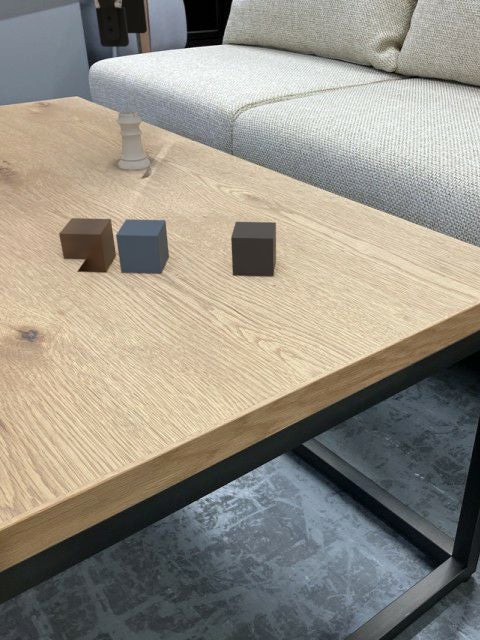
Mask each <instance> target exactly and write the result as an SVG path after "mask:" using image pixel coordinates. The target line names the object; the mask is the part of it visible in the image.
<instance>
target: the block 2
mask: <svg viewBox="0 0 480 640" xmlns="http://www.w3.org/2000/svg"><path fill="white" fill-rule="evenodd" d="M115 237H116V245H117V251H118V258H119V266H120V272H121V273H122V274H153V275H154V274H155V275H156V274H157V275H161V274H163V271H164V269H165V266H166V265H167V262H168V260H169V258H170V252H169V242H168V232H167V222H166V220H165V219H134V218H133V219H131V218H130V219H128V218H126V219H125V220H124V222H123V223H122V225H121V226H120V228H119V230H118V231H117V232H116V234H115Z"/></svg>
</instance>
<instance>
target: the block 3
mask: <svg viewBox="0 0 480 640" xmlns="http://www.w3.org/2000/svg"><path fill="white" fill-rule="evenodd" d="M234 223H235V224H234V226H233V229H232V233H231V237H230V243H231V265H232V266H231V267H232V276H233V277H236V276H237V277H238V276H239V277H274V276H275V269H276V262H277V222H272V221H271V222H269V221H268V222H267V221H235V222H234Z"/></svg>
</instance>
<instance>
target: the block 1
mask: <svg viewBox="0 0 480 640" xmlns="http://www.w3.org/2000/svg"><path fill="white" fill-rule="evenodd" d="M58 235H59V236H58V237H59V241H60V246H61V251H62V257H63V259H64V260H83V262H82V263H81V265H80V266H79V268H78V269H77V272H76V273H107V272H108V270H109V268H110V267H111V265H112V264H113V262H114V260H115V258H116V257H117V252H116V251H117V250H116V245H115V239H114V232H113V224H112V219H111V218H87V217H86V218H85V217H84V218H83V217H81V218H80V217H73V218H72V217H71V218H70V219H69V221H68V222H67V223H66V224H65V225H64V227H63V228H62V229H61V230H60V231H59V233H58Z"/></svg>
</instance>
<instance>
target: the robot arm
mask: <svg viewBox="0 0 480 640" xmlns="http://www.w3.org/2000/svg"><path fill="white" fill-rule="evenodd" d="M93 1H94V2H93V3H94V7H95V13H96V21H97V26H98V27H97V28H98V34H99V41H100V45H101V46H102V48H103V47H105V48H115V47H117V48H120V47H121V48H123V47H125V48H126V47H128V46H129V44H130V38H129V34H145V33H146V32H147V31H148V25H147V17H146V6H145V0H93Z"/></svg>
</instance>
